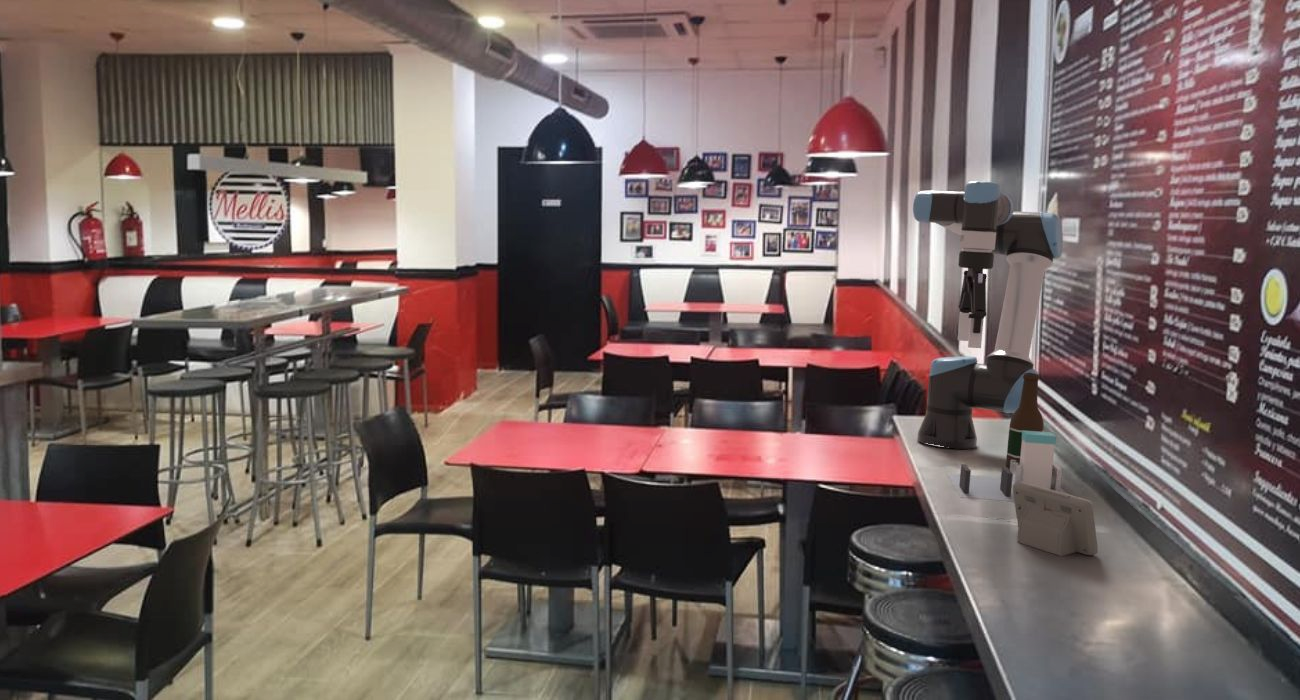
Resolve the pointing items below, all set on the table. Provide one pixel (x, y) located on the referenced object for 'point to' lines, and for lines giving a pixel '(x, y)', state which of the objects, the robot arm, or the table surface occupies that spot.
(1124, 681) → the table surface
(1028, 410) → the beer bottle
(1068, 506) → the digital clock
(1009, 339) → the robot arm
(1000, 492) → the panel
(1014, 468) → the port
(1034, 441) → the white and teal box
